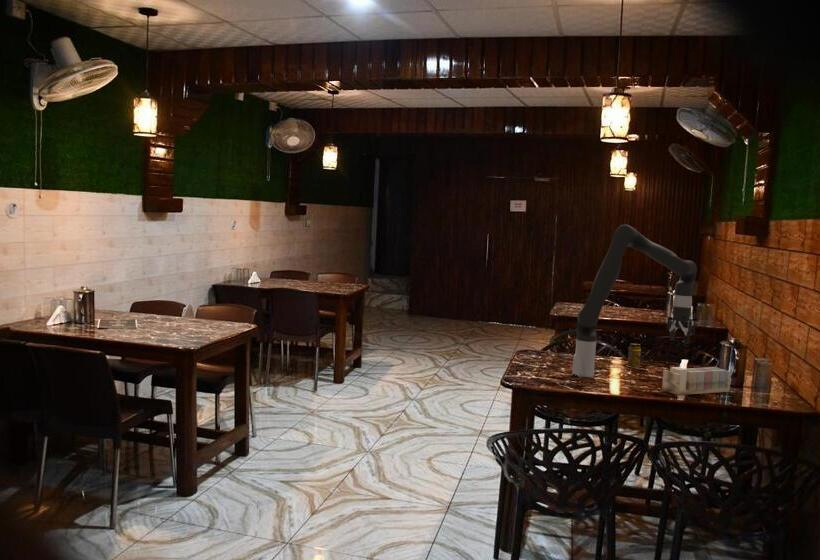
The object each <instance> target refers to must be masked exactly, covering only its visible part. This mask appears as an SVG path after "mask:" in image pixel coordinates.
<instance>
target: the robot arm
mask: <svg viewBox="0 0 820 560" xmlns="http://www.w3.org/2000/svg"><path fill="white" fill-rule="evenodd" d="M609 245H610V246H609V248H608V250H607V252H606V255H605V257H604V259H603V261H602V263H601V265H600V267H599V269H598V271H597V273H596V276H595V278H594V281H593V284H592V287H591V289H590V290H591V291H590V294H589V297H588V299H587V300H586V302H585V304H584V305H583V307H581V308H579V311H578V313H577V318H576V338H575V339H576V340H575V341H576V342H575V354H573V359H572V375H573V374H575V375H574V376H576V375H577V377H579V378H593V377H595V363H596V362H595V360H596V347H597V328H598V327H597V326H598V325H597V324H598V321H599V317H600V314H601V312H602V308H603V306H604V304H605V302H606V300H607V298H608V297H609V296H610V293H611V292H612V290H613V288H614V286H615V284H616V282H617V280H618V278H619V276H620V272H621V266H622V265H621V264H622V258H623V255H624V253H625V250H626V249H627V248H632V249H634V250H637V251H640V253H643V254H645V255H646V256H648V257H649V258H651V259H653V260H654V261H655V262H656V263H658V264H660V265H662V266H664V267H665V268H667V269H668V270H670V271H671V272H672V273H673V274H675V275H677V276H679V280H678V281H677V282H676V283H675V286H674V288H675V289H674V297H673V300H672V301H673V303H672V304H673V305H672V313H671V314H672V316H667V322H666V330H668V332H669V340H670V341H675V340H676V331H677V330H678V329H681V330H682V331H683V333H684V338H683V344H685V345H688V344H690V342H691V339H690V338H691V336H693V335H695V329H696V326H695V325H696V322H695V320H690V318H691V315H692V305H693V286H694V284H695V281H696V276H697V274H698V273H697V265H696V263H695V262H694V261H692V260H688V259H687V260H685V259H683V258H680V257H678V255H677V253H675V252H673V251H672V250H670V249H668V248H666V247H664V246H663V245H660V244H658V243H656V242H653V241H651V240H649V239H648V238H646V237H645V236H644V235H643V234H641V232H639V231H638V230H637V229H636V228H635V227H633V226H630V225H629V224H621V225H619V227H617V228H616V230H615V231H614V234H613V237H612V240H611V243H610V244H609Z"/></svg>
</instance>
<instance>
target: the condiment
mask: <svg viewBox="0 0 820 560" xmlns="http://www.w3.org/2000/svg"><path fill="white" fill-rule="evenodd" d="M641 353H642V350H641V344H640V343H635V342H633V343H630V344H629V348H628V355H627V364H628V366H631V367H641V356H642V355H641Z"/></svg>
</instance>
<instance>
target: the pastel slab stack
mask: <svg viewBox="0 0 820 560" xmlns="http://www.w3.org/2000/svg"><path fill="white" fill-rule="evenodd" d="M684 369H686V370H687V378H686V390H679V387H680V374H677V373H674V372H671V371H670V370H667V369H663V371H662V372H663V373H662V382H661V383H662V386H661V390H662V391H664V392H667V393H670V394H673V395H675V396H681V395H697V394H714V393H728V392H730V385H731V374H732V372H731V371H728V370H727V369H723V368H719V367H716V366H712V367H711V366H709V367H693V368H691V367H690V368H684Z"/></svg>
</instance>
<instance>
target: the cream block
mask: <svg viewBox="0 0 820 560" xmlns="http://www.w3.org/2000/svg"><path fill="white" fill-rule="evenodd" d="M669 371H671V372H674V373H677V374H680V387H679V390H686V378H687V370H686V369H685V368H684V367H683V368H682V367H679V366H674V367H673V366H671V367H670V370H669Z"/></svg>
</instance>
